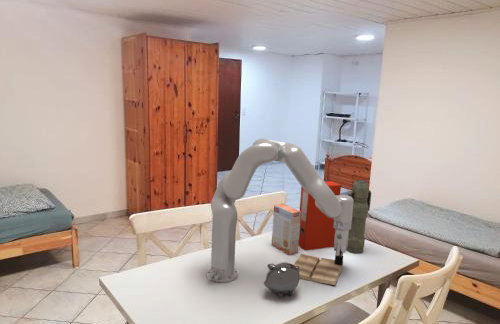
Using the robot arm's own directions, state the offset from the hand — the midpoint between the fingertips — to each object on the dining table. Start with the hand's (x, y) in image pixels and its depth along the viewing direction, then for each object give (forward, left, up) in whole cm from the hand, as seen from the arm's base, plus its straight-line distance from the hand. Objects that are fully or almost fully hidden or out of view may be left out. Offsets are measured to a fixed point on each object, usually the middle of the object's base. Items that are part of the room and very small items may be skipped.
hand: (338, 264), depth 159 cm
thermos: (+24, -4, -2) cm, 24 cm away
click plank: (-6, +3, -2) cm, 7 cm away
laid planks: (-6, +13, -2) cm, 15 cm away
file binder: (+20, +14, -3) cm, 25 cm away
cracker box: (+9, +27, -3) cm, 29 cm away
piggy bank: (-30, +16, -3) cm, 34 cm away
